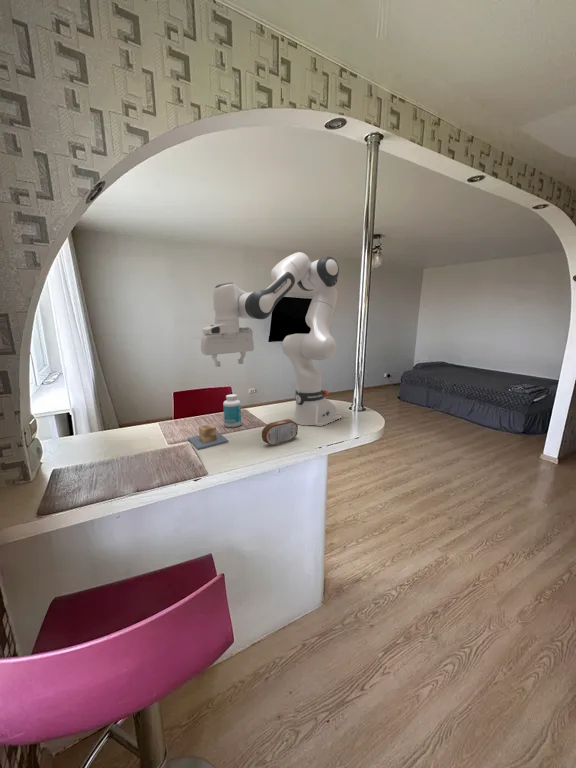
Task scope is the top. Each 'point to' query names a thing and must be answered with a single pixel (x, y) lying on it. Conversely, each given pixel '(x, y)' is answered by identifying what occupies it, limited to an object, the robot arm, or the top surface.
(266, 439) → the tin
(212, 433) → the cube
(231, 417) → the pill bottle
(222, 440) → the mat
